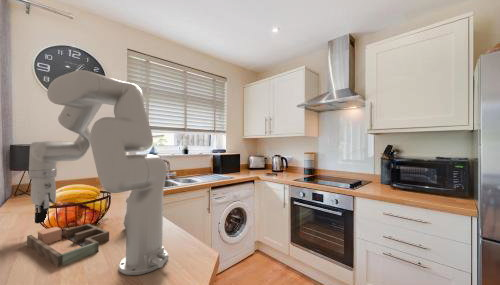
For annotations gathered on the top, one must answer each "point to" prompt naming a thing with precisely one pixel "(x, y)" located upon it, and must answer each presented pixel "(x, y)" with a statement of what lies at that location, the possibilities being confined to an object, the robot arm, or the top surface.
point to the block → (50, 235)
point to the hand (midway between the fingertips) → (41, 221)
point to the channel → (80, 235)
